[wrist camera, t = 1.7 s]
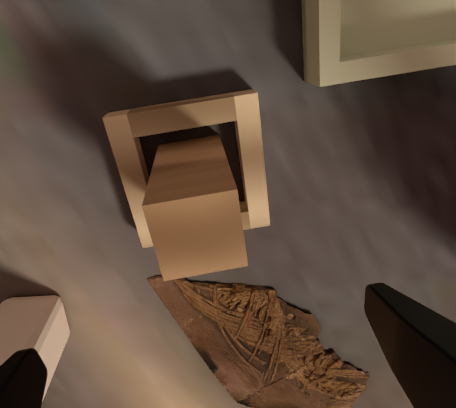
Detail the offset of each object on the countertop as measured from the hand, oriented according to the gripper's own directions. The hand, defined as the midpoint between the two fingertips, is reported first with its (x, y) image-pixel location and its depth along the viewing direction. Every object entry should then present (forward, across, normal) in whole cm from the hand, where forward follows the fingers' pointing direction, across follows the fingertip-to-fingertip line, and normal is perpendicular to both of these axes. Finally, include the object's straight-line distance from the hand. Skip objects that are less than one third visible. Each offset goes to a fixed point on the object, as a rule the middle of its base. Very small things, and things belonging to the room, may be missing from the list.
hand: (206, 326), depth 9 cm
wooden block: (+13, 0, 0) cm, 13 cm away
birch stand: (+13, 0, 0) cm, 13 cm away
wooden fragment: (+13, -3, +18) cm, 23 cm away
